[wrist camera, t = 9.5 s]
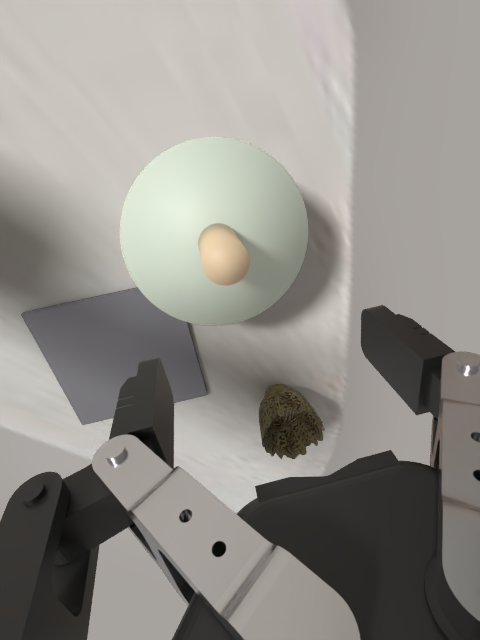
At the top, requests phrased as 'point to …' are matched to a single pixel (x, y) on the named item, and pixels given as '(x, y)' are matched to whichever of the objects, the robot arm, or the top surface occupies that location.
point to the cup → (288, 422)
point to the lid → (214, 231)
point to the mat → (113, 349)
